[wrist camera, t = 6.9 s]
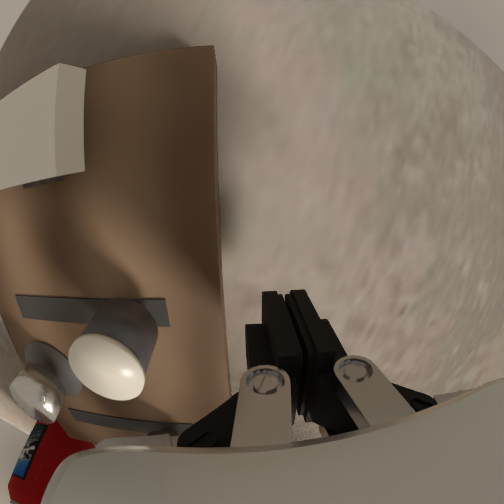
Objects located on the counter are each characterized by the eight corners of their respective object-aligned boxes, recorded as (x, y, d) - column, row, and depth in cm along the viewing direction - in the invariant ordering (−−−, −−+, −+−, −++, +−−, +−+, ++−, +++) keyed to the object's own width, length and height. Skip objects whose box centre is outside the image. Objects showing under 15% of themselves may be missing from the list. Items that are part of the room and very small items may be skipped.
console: (216, 67, 11) (211, 26, 7) (234, 426, 19) (237, 476, 15) (1, 119, 10) (-51, 119, 6) (79, 413, 18) (63, 452, 14)
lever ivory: (157, 287, 11) (131, 341, 8) (167, 343, 12) (152, 403, 8) (96, 287, 11) (56, 335, 7) (111, 341, 12) (84, 395, 8)
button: (53, 366, 11) (38, 390, 9) (74, 405, 12) (63, 429, 10) (16, 358, 11) (1, 378, 9) (37, 396, 12) (25, 416, 10)
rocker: (86, 69, 6) (54, 61, 4) (84, 171, 7) (51, 177, 6) (-13, 124, 7) (-36, 127, 6) (-11, 193, 8) (-34, 199, 7)
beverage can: (34, 400, 18) (-10, 488, 7) (91, 424, 19) (59, 528, 8) (50, 434, 20) (20, 511, 9) (101, 454, 21) (80, 540, 10)
